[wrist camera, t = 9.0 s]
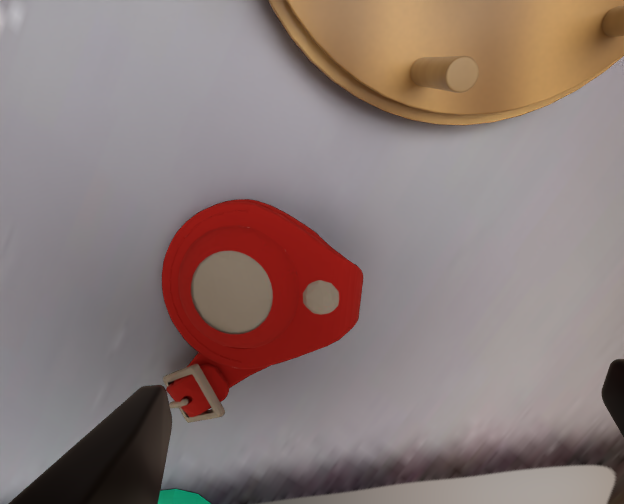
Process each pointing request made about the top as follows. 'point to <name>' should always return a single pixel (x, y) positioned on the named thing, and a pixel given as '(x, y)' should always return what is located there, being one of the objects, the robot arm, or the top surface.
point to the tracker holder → (250, 298)
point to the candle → (180, 497)
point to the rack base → (382, 102)
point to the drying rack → (466, 48)
